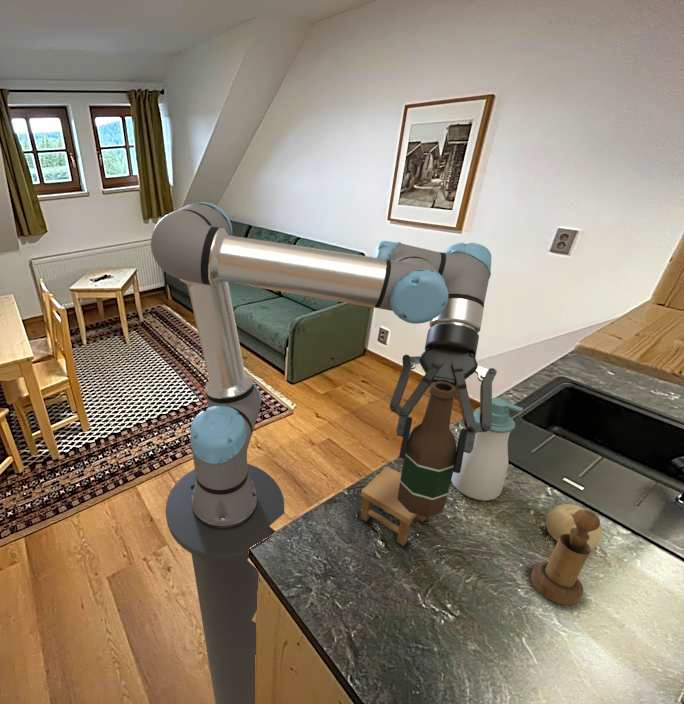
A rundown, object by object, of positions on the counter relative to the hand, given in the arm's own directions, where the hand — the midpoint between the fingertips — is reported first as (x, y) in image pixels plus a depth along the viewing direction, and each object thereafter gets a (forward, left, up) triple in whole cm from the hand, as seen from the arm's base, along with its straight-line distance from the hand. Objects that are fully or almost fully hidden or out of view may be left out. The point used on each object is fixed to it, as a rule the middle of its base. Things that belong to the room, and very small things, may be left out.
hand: (428, 464), depth 63 cm
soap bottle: (+1, +30, -26) cm, 39 cm away
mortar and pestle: (+19, +15, -26) cm, 35 cm away
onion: (+18, +28, -26) cm, 42 cm away
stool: (-7, +9, -25) cm, 28 cm away
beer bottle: (-1, +3, -12) cm, 12 cm away
